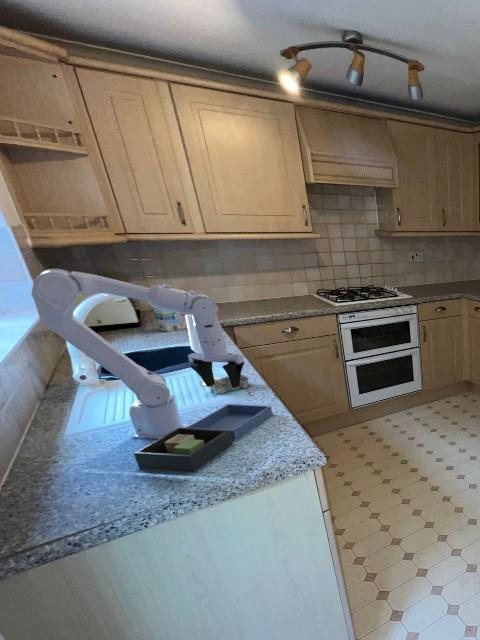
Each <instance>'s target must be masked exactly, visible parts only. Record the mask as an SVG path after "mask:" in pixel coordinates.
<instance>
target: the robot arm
mask: <svg viewBox="0 0 480 640" xmlns="http://www.w3.org/2000/svg"><path fill="white" fill-rule="evenodd" d="M79 292H81V293H82V296H83V297H88V296H92V295H93V296H94V295H96V294H97V295H98V294H106V295H113V296H117V297H123V298H124V297H125V298H130V299H135V300H141V301H146V302H147V303H148V304H149V305H150V306H151V307H152V308H154V309H163V310H168V311H174V312H179V313H184V314H186V315H187V314H191V313H192V317H193V321H194V328H195V332H196V336H197V339H198V343H199V346H200V350H201V353H196V352H193V353H190V354H188V355H187V358H188V362H189V363H190V365H189V366H190V369H192V370H193V371H195V373H196V374H198V376H199V377H200V378H201V380H202V381H203V382H204V383H205V384H206V387H207V388H208V387H210V386H212V385H214V384H215V382H214V377H215V376H214V377H213V375H214V372H212V371H213V363H225V364H224V365H222V369H223V370H224V371H225V374H226V375H227V377H229V380H230V383H231V386H232V387H233V388H236V387H238V386H240V375H241V374H242V370H243V367H244V366H245V359H244V355H243V354H236V353H231V352H229V351H228V349H227V344H226V342H225V339H224V334H223V331H222V325H221V322H220V321H219V316H218V312H219V306H218V305H217V303H216V302H215V301H214V299H212V298H211V297H210V296H208V295H206V294H203V293H201V292H195V291H194V290H191V289H190V290H188V291H186V290H182V289H178V288H174V287H172V285H171V284H167V283H163V285H161V284H155V285H154V286H151V287H145V286H142V285H138V284H134V283H130V282H126V281H122V280H118V279H113V278H110V277H105V276H101V275H99V274H98V275H97V274H92V273H87V272H81V271H75V270H72V271H71V272H70V271H68V270H65V269H62V268H49V269H45V270H44V271H42V272H41V273H39V275H37V276H36V278H35V279H34V280H33V284H32V288H31V292H30V294H31V297H32V299H33V302H34V304H35V307H36V310H37V314H38V317H39V320H40V322H41V323H42V325H44V326H45V327H47V328H48V329H49V330H50V331H52V332H53V333H55V334H56V335H58V336H59V337H60V338H62V339H63V340H65V341H66V342H67V343H69V344H70V345H71V346H73V347H74V348H76V349H77V350H78V351H80V352H81V353H83V355H85V356H87V357H88V358H89V359H91V360H93V361H94V362H95V363H97V364H98V365H99V366H101V367H102V368H104V369H105V370H106V371H108V372H109V373H111V375H114V376H115V377H116V378H117V379H119V380H120V381H121V382H122V383H123V384H124V385H125V387H127V389H129V390H130V391H131V392H133V393H134V395H135V397H136V399H137V401H135V402H133V403H132V405H131V406H130V408H129V417H130V420H131V422H132V425H133V428H134V431H135V433H136V434H134V435H133V438H147V439H160V438H162V437H163V436H165V435H167V434H169V433H171V432H172V431H174V430H176V429H178V428H187V427H188V426H190V425H192V424H191V423H183V422H182V419H181V416H180V413H179V410H178V406H177V404H176V403H177V402H176V400H175V397H174V395H172V394H171V392H170V389H169V387H168V385H167V381H166V378H165V377H163V376H162V375H160V374H159V373H155V372H151V371H150V370H148V369H146V368H145V367H144V366H142V365H139V364H138V363H136V362H135V361H134V360H132V359H131V358H129V357H128V356H127V355H126V354H124V353H123V352H122V351H121V350H119V349H117V348H116V346H114V345H113V344H111V343H110V342H108V341H107V340H106V339H104V338H103V337H102V336H100V335H99V334H98V333H96V331H94V330H93V329H92V328H91V327H89V326H88V325H86V324H85V323H84V322H82V320H79V319H78V318H77V317H76V316H75V315H74V309H75V308H74V305H75V300H76V298H77V297H78V294H79Z"/></svg>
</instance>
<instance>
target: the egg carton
mask: <svg viewBox="0 0 480 640" xmlns="http://www.w3.org/2000/svg"><path fill="white" fill-rule="evenodd" d="M220 378H221V379H218V380H214V382H215V384H214V385H212V386H210V387H209V391H210V393H214V394H215V395H219V394H225V393H226V392H228V391H237V390H239V389H247V388H248V387H249V386H250V384H249V381H250V378H248V377H247V376H246V375H244V374H242V373H241V375H240V386H238V387H236V388H233V387H232V386H231V383H230V380H229V377H228V376H225V377H220Z"/></svg>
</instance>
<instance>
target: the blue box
mask: <svg viewBox="0 0 480 640" xmlns="http://www.w3.org/2000/svg"><path fill="white" fill-rule="evenodd" d="M272 415H273V410H272V406H271V405H257V404H255V405H253V404H238V403H236V404H235V403H227V404H225V405H224V406H222V407H220V408H218V409H216V410H215V411H213V412H211V413H210V414H207V415H206V416H205V417H202V418H201V419H199V420H196V421H195V422H193V423H192V424H191V425H190V426H188V427H187V428H195V429H213V430H229V432H230V436H231V439H232V441H233V440H235V441H236V440H237V439H239V438H240V437H242V436H243V435H245V434H246V433H248V432H249V431H250V430H252V429H253V428H255V427H256V426H257V425H259V424H261V423H262V422H264V421H265V420H266V419H268V418H270V417H271V416H272Z"/></svg>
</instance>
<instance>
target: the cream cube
mask: <svg viewBox="0 0 480 640" xmlns="http://www.w3.org/2000/svg"><path fill="white" fill-rule="evenodd" d="M187 439H193V440H195V438H194V435H184V434H178V435H176V436H174V437H173V438H171V439H169V440H167V441H166V442H164V443H165V446H166V449H167V452H168V454H176V453H175V450H174V447H176V446H177V445H179V444H181V443H182V442H184V441H186V440H187Z"/></svg>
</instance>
